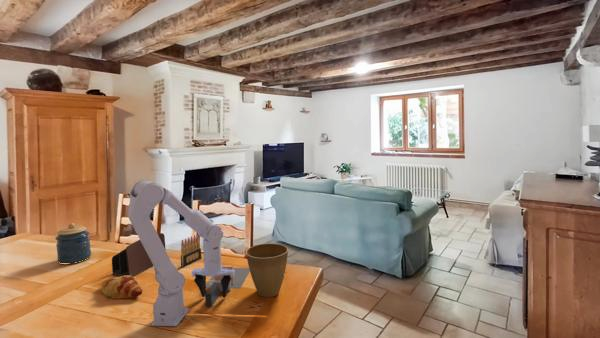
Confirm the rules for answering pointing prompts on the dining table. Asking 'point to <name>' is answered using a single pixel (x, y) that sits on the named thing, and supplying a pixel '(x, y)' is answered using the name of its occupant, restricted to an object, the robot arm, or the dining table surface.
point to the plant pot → (267, 267)
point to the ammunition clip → (190, 251)
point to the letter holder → (133, 259)
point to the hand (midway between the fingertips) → (214, 295)
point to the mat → (236, 277)
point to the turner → (214, 292)
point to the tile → (222, 276)
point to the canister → (73, 244)
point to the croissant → (121, 287)
